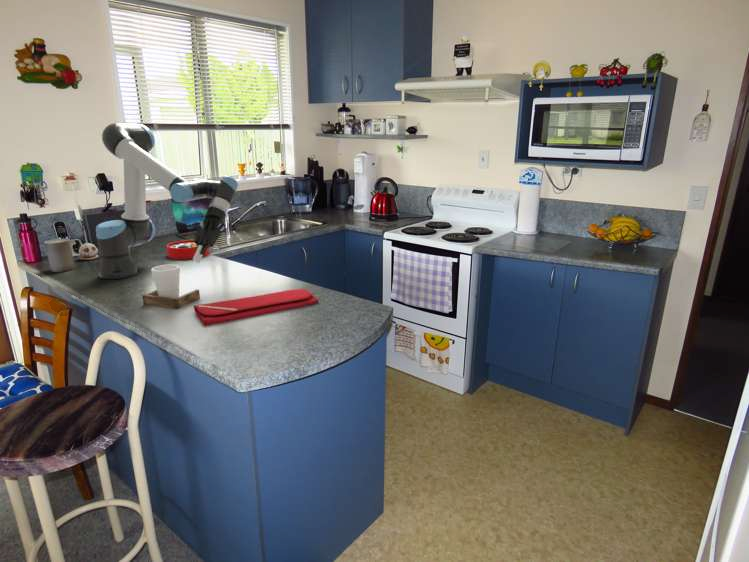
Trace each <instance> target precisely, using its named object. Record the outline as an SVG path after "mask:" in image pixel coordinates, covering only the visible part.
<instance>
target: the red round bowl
mask: <svg viewBox="0 0 749 562" xmlns="http://www.w3.org/2000/svg"><path fill="white" fill-rule="evenodd" d="M194 240H195V239H185V240H179V241H174V242H170V243H168V244H166V249H167V257H168V258H169V259H171V260H193V257H194V255H195V250H196V248H197V245H196V244H195V243H194ZM209 248H210V247H208V248H207V250H206V252H205V254H204V255H203V256H202V258H204V257H205V256H208V255H210V249H209Z"/></svg>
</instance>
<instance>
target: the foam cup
mask: <svg viewBox="0 0 749 562" xmlns="http://www.w3.org/2000/svg"><path fill="white" fill-rule="evenodd" d="M150 270H151V276H152V278H153V281H154V285H155V287H156V288H155V289H156V290H157V292H158V295H159V296H160V297H168V298H175V299H176V298H178V297H180V274H181V270H180V265H178V264H162V265H156V266H153V267H152V268H151V269H150Z"/></svg>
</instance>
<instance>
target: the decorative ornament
mask: <svg viewBox="0 0 749 562" xmlns="http://www.w3.org/2000/svg"><path fill="white" fill-rule="evenodd" d="M82 231H83V233H84V238H85V239H84V240H85V243H83V244H82V245H81V246H80V247H79V249H78V253H79V255H80V260H85V261H88V260H94V259H98V258H100V257H99V256H100V255H98V253H99V248H97V247H96V245H95V244H93V243H89V242H88V237H87V233H86V229H85V228H84V229H83V230H82Z"/></svg>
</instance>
